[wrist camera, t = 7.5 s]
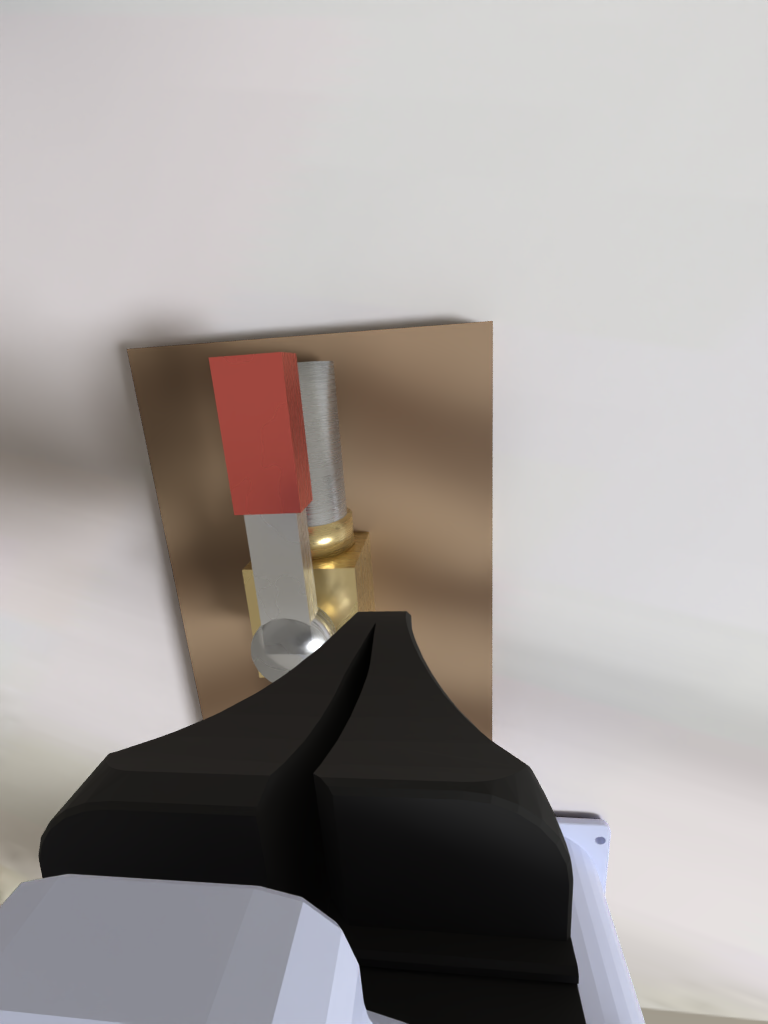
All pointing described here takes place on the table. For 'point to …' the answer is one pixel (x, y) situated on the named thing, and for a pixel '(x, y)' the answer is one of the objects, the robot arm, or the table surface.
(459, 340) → the mounting board
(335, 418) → the valve housing
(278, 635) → the lever
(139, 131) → the table surface
